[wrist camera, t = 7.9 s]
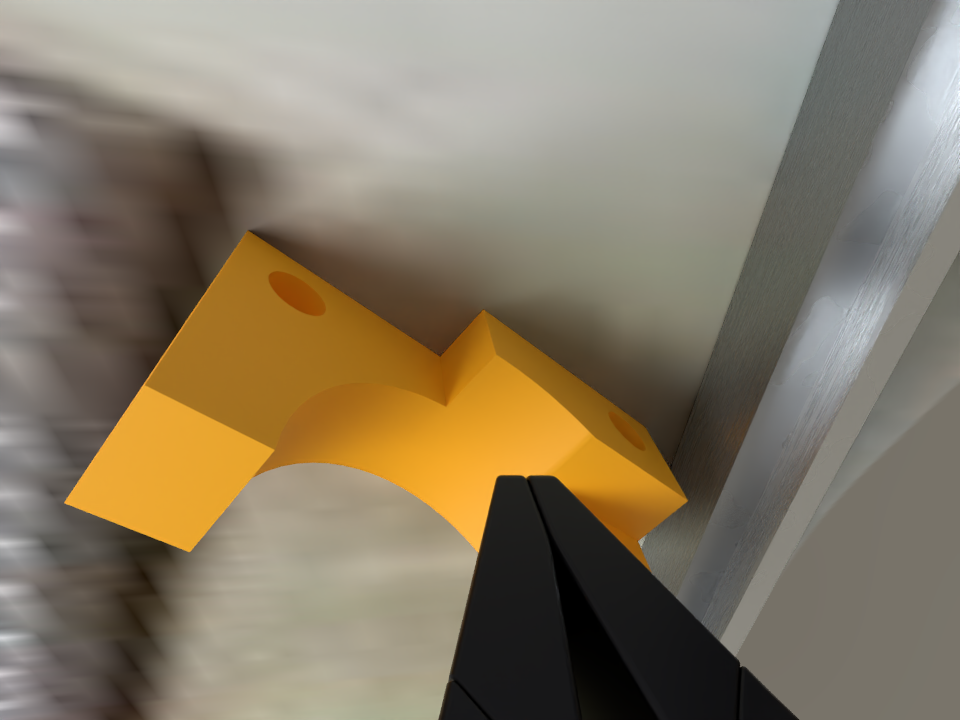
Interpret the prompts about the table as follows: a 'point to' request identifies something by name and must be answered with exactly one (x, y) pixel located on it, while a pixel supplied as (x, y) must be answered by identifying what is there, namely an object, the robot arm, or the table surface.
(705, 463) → the rail
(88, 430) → the table surface
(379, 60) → the table surface
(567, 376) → the pipe clamp
